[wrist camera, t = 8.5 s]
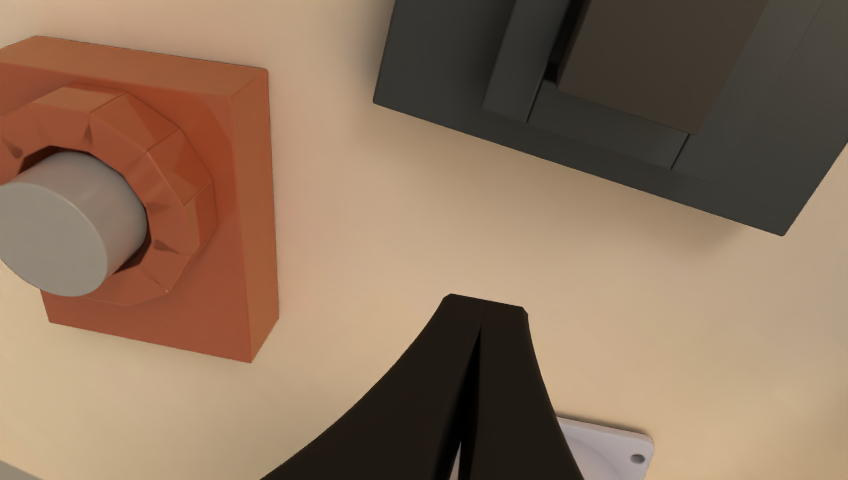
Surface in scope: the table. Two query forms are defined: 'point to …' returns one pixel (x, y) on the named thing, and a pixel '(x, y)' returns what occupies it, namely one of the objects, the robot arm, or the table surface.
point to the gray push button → (69, 223)
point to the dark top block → (656, 56)
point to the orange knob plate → (159, 185)
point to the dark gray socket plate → (623, 133)
